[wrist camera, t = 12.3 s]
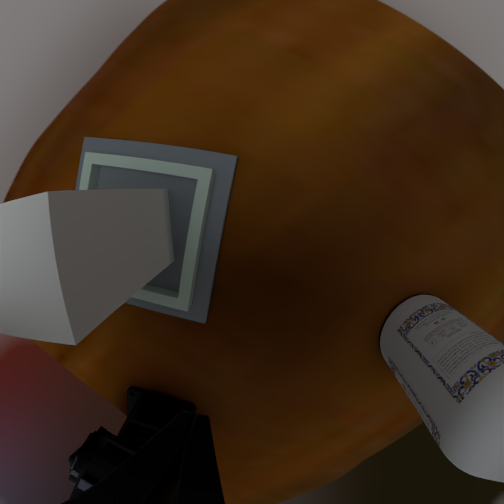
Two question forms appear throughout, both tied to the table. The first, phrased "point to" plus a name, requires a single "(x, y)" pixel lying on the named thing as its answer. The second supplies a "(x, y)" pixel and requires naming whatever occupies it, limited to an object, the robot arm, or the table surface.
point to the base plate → (171, 212)
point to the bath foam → (451, 380)
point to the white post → (78, 258)
